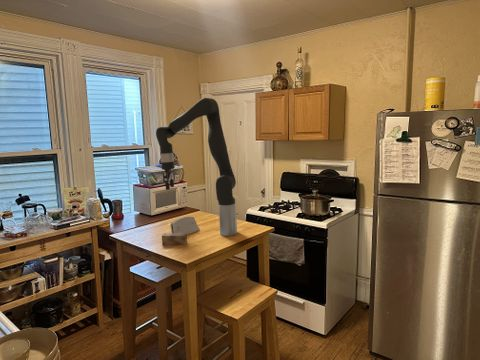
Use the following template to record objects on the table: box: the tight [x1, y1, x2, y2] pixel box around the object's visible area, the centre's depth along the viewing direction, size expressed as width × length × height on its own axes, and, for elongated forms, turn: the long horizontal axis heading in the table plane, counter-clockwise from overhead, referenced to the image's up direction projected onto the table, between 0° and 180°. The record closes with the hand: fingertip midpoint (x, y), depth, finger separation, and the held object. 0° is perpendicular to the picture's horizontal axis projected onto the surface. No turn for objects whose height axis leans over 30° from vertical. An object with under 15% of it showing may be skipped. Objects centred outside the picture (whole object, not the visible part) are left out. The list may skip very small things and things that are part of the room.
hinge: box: [170, 216, 200, 235], centre depth 186 cm, size 17×5×10 cm, turn 136°
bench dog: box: [161, 232, 188, 246], centre depth 168 cm, size 12×4×5 cm, turn 84°
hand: (170, 188), depth 191 cm, fingers open, 8 cm apart
